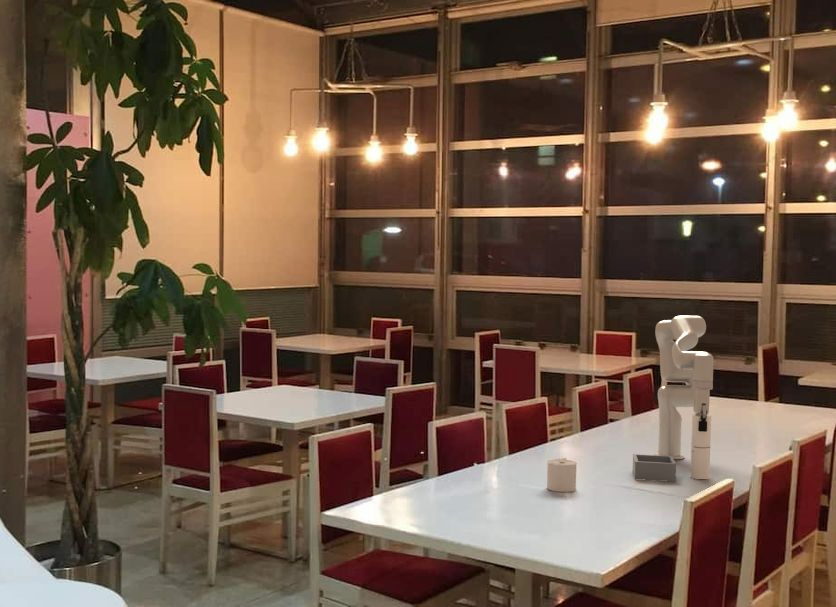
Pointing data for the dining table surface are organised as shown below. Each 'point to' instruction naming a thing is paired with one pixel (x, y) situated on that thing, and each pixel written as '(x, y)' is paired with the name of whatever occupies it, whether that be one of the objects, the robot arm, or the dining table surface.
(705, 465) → the cylindrical container
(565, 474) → the toilet tissue
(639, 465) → the box
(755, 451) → the dining table surface
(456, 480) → the dining table surface
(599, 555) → the dining table surface
